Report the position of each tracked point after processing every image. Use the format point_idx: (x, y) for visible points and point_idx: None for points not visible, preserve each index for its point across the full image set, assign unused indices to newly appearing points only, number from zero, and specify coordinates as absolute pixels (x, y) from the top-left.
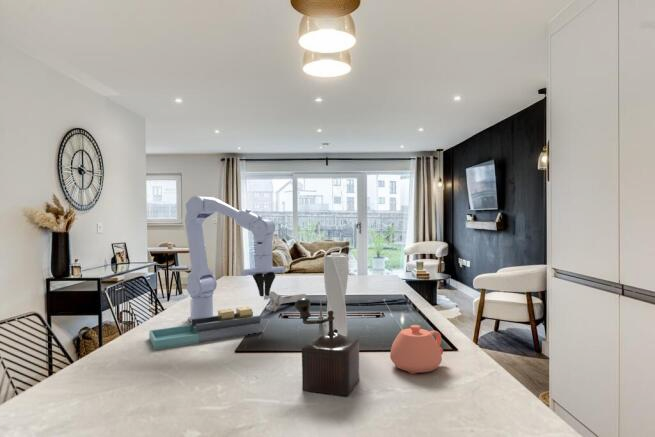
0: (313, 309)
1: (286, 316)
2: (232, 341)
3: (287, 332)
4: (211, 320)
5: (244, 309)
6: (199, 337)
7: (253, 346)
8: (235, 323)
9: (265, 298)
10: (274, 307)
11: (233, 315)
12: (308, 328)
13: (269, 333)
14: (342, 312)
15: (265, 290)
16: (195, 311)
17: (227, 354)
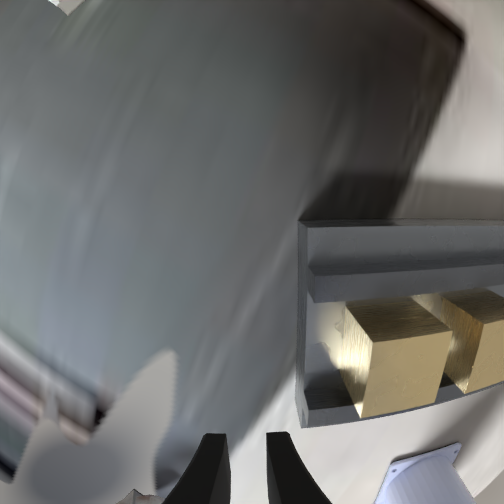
0: (4, 429)
1: (99, 421)
2: (459, 159)
3: (171, 152)
4: None
5: (422, 345)
6: None
7: (400, 39)
8: (457, 261)
9: None
10: (133, 501)
11: (471, 313)
12: (55, 176)
13: (269, 183)
14: None
15: (226, 499)
16: (462, 481)
17: (485, 35)
